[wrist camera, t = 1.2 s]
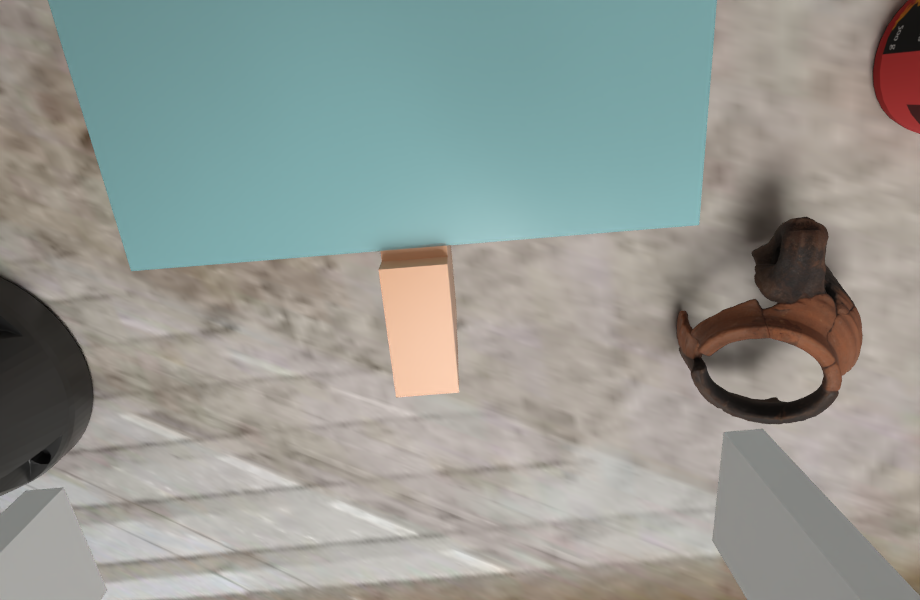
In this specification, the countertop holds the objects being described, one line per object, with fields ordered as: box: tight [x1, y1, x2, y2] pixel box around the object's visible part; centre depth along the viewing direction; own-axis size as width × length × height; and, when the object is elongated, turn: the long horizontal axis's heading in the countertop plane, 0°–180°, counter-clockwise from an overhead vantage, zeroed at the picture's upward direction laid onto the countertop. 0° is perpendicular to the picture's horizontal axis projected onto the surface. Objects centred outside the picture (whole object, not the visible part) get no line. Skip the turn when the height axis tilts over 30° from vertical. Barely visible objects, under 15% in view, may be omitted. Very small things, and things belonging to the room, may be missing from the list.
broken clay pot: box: [677, 217, 862, 424], centre depth 31 cm, size 12×10×8 cm
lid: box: [48, 0, 717, 397], centre depth 21 cm, size 21×20×8 cm
